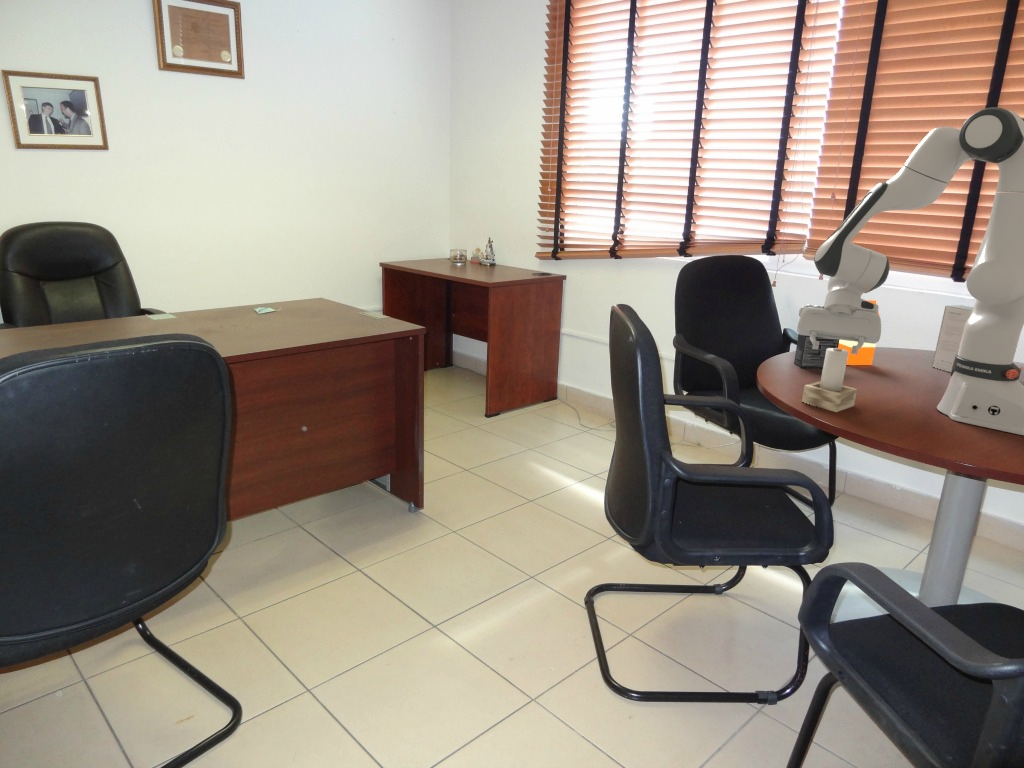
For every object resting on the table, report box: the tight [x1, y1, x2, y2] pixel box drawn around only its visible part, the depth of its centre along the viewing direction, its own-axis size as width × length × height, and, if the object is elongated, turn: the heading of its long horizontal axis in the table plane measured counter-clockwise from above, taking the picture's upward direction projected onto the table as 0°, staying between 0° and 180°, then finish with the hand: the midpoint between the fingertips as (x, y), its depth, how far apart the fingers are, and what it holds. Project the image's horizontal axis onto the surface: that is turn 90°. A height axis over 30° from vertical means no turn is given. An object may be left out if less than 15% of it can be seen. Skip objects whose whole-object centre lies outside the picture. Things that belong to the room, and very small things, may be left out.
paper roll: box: [820, 348, 849, 392], centre depth 164 cm, size 5×5×12 cm
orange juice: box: [838, 299, 880, 365], centre depth 207 cm, size 8×9×20 cm
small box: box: [793, 333, 839, 370], centre depth 202 cm, size 11×6×10 cm, turn 84°
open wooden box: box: [801, 380, 858, 413], centre depth 166 cm, size 9×9×4 cm
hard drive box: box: [931, 304, 974, 373], centre depth 200 cm, size 16×8×20 cm, turn 22°
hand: (834, 350), depth 174 cm, fingers open, 8 cm apart
